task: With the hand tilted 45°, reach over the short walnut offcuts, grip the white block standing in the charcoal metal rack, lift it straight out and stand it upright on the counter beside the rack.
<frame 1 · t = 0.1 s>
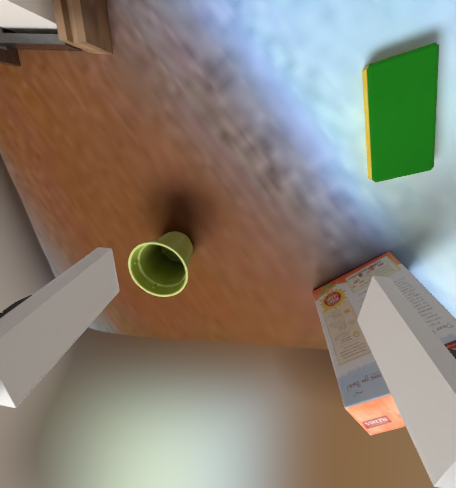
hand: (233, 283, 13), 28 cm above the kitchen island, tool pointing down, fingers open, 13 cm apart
white block: (44, 14, 33), resting in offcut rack
dish sponge: (393, 120, 33), on the kitchen island
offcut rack: (44, 14, 33), on the kitchen island
cracker box: (356, 282, 43), on the kitchen island
offcut stack: (97, 15, 32), on the kitchen island
plant pot: (177, 245, 45), on the kitchen island
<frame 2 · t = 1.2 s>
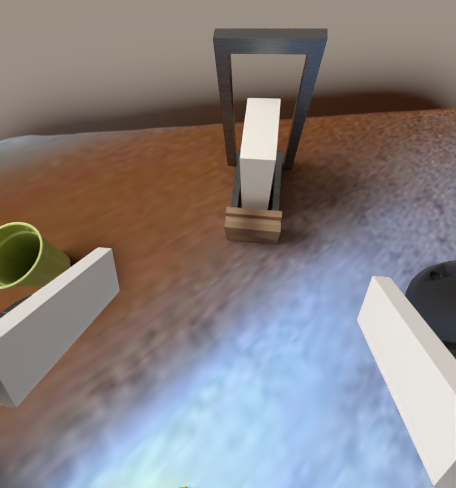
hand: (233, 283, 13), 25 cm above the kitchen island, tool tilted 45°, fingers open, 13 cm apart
white block: (256, 193, 43), resting in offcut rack
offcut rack: (256, 193, 43), on the kitchen island
offcut stack: (252, 233, 41), on the kitchen island
plant pot: (55, 269, 41), on the kitchen island
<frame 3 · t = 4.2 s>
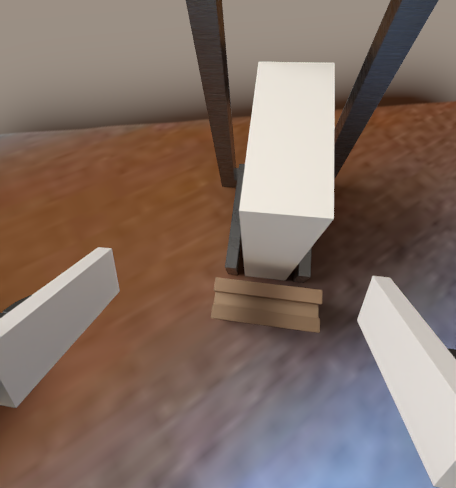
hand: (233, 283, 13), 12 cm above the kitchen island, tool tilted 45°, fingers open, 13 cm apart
white block: (268, 236, 26), resting in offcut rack
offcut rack: (268, 236, 26), on the kitchen island
offcut stack: (262, 308, 24), on the kitchen island
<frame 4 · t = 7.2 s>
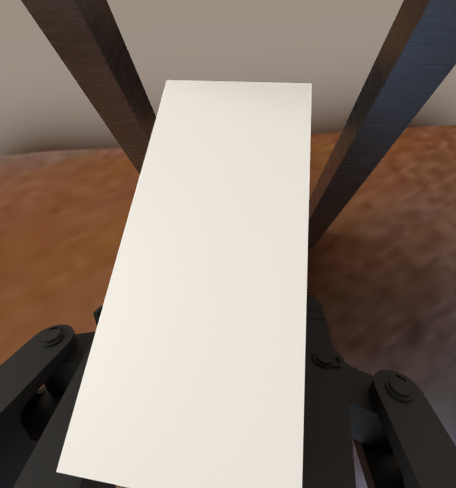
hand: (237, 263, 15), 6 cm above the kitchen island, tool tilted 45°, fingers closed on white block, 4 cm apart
white block: (237, 304, 19), resting in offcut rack, touching gripper
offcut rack: (237, 304, 19), on the kitchen island
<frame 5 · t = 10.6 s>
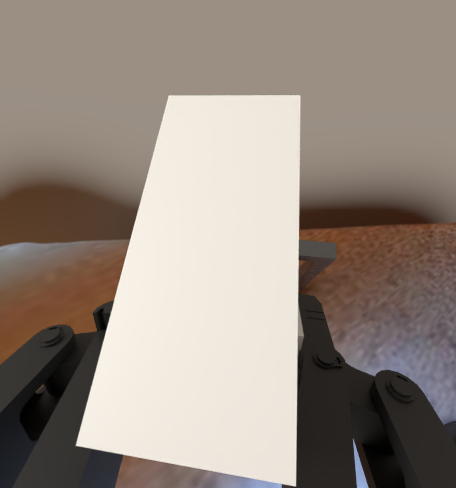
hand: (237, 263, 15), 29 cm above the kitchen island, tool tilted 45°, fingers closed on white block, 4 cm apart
white block: (240, 307, 20), point 23 cm above the kitchen island, touching gripper
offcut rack: (259, 322, 41), on the kitchen island
when the fingers open (7 cm above the kitchen island, at t = 14.3 s): white block stays where it is, on the kitchen island.
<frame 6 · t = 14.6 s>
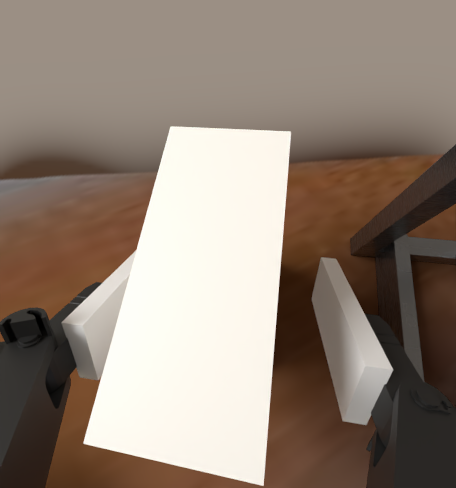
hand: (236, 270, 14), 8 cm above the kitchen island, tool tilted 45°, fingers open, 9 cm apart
white block: (237, 308, 21), on the kitchen island
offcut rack: (430, 329, 19), on the kitchen island
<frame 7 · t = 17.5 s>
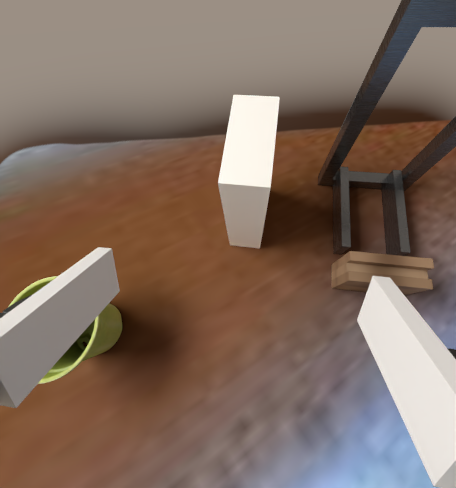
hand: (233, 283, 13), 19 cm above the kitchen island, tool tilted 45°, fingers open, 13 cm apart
white block: (248, 216, 34), on the kitchen island
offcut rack: (362, 223, 33), on the kitchen island
offcut stack: (364, 280, 31), on the kitchen island
plant pot: (100, 326, 31), on the kitchen island
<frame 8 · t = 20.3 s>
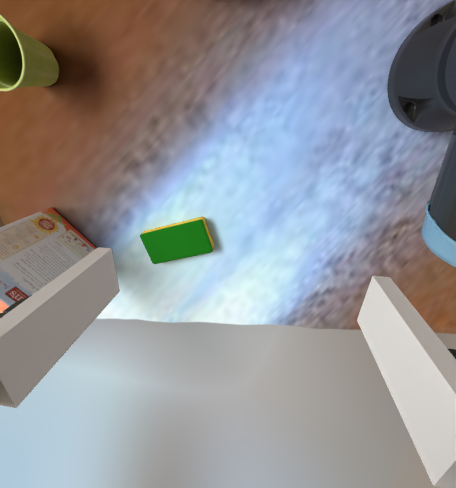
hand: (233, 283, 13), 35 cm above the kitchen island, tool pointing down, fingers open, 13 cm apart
dish sponge: (179, 238, 53), on the kitchen island
cracker box: (72, 237, 56), on the kitchen island
plant pot: (43, 64, 41), on the kitchen island
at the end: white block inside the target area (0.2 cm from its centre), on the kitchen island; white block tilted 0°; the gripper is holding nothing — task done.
